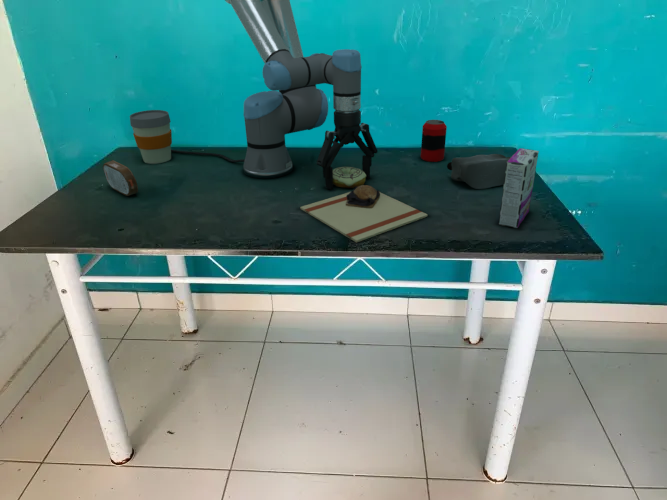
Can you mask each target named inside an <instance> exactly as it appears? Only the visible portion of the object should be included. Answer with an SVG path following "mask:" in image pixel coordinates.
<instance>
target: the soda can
mask: <svg viewBox="0 0 667 500" xmlns="http://www.w3.org/2000/svg"><path fill="white" fill-rule="evenodd" d="M447 128H448V127H447V125H446V123H445V121H444V120H441V119H428V120H426V121H425V123H423V125H422V131H421V145H420V146H421V147H420V158H421V160H423V161H425V162H429V163H436V162H437V163H438V162H441V161H444V159H445V153H446V142H447V141H446V139H447Z"/></svg>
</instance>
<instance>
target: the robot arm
mask: <svg viewBox="0 0 667 500" xmlns="http://www.w3.org/2000/svg"><path fill="white" fill-rule="evenodd" d="M224 2H225V3H226V4H228V5H230V6H231V7H232V8H233V9H232V10H233V11H234V12H235V14H236V16H237V18H238V20H239V21H240V23H241V25H242V27H243V28H244V30H245V32H246V34H247V35H248V37H249V39H250V40H251V42H252V44H253V46H254V47H255V49H256V51H257V54H259V56H260V58H261V60H262V61H263V63H264V64H263V66H262V78H263V81H264V85H265V86H266V87H267V89H269V90H268V91H264V90H263V91H261V92H256V93H252V94H251V95H249V96H247V97H246V98H245V99H244V101H243V119H244V126H245V137H246V147H247V148H246V152H245V158H244V159H243V158H242V159H241V158H240V159H233V158H232V159H231V158H229V157H227V156H226V155H224V154H220V153H214V152H200V151H186V150H177V149H171V153H176V154H184V155H185V154H186V155H195V156H196V155H198V156H212V157H213V156H214V157H219V158H222V159H224V160H225V161H227V162H230V163H243V166H242V167H243V173H244V174H245V175H246V176H248V177H251V178H253V179H266V180H267V179H276V178H280V177H284V176H287V175H289V174H290V173H291V172H293V170H294V169H293V161H292V159H291V158H292V157H291V156H290V154H289V151H288V149H287V146H286V135H288V134H294V133H298V132H304V131H311V130H313V129H316V128H320V127H322V126H323V125H324V124H325V122H326V120H327V117H328V114H329V101H328V97H327V94H326V92H325V91H324V90H323V89H320V88H317V85H322V84H327V85H330V86H332V92H333V93H332V97H333V98H332V99H333V101H332V102H333V103H332V104H333V105H332V106H333V107H332V108H333V110H334V111H333V124H334V130H331V131H330V130H325V132H324V140H323V143H322V146H321V148H320V151H319V154H318V157H317V160H316V163H315V164H316V165H317V166H318V167H320V168H322V177H323V178H324V181H325V186H324V187H325V188H326V189H328V190H331V191H332V190H334V184H333V170H334V167H332V164H333V163H334V161H335V159H336V157H337V155H338V154H339V152H340V151H341V149H342V148H343V147H344V146H347V145H349V144H356V146H357V147H358V148H359V149H360V151H361V152H362V153H363V154H364V155H362V156H361V157H362V159H361V161H362V164H361V170H362V171H363V172H364V173H365V174H366V178H365V179H367V180H369V179H371V167H372V161H373V160H372V158H374V157H375V154H377V153H378V148H377V146H376V144H375V140H374V139H373V136H372V133H371V132H370V125H369V124H368V123H365V122H362V111H361V110H360V109H362V61H361V60H362V58H361V52H360V51H359V50H357V49H347V48H346V49H336V50H334V51H333V52H332V55H331V54H328V53H324V52H321V53H318V52H315V53H312V54H310V55H309V56H304V52H303V49H302V45H301V40H300V36H299V32H298V28H297V25H296V24H297V23H296V21H295V20H296V19H295V17H294V12H293V8H292V3H291V1H290V0H224ZM324 92H325V93H324ZM360 133H361V135H362V137H363V139H362V137H361V136H360Z"/></svg>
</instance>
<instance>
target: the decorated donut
mask: <svg viewBox="0 0 667 500" xmlns="http://www.w3.org/2000/svg"><path fill="white" fill-rule="evenodd" d="M366 179H367V178H366V174H365V173H364V172H363V171H362V168H357V167H354V166H338V167H336V168H333V186H336V187H338V188H349V189H350V188H351V189H354V188H355V187H359V186H361V185H365V182H366Z"/></svg>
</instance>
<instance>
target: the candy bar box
mask: <svg viewBox="0 0 667 500" xmlns="http://www.w3.org/2000/svg"><path fill="white" fill-rule="evenodd" d="M539 152H540V150H536V149H535V150H534V149H528V148H518V149H517V150H516V152H515V153H514V154H512V156H510V159H509V160H508V161H507V164H506V172H505V179H504V185H503V188H502V196H501V203H500V211H499V219H498V225H500V226H503V227H508V228H513V229H518V228H519V227H520V225H522V222H523V221H524V220H525V218H526V216H527V215H528V214H529V212H530V207H531V202H532V195H533V189H534V183H535V178H536V177H535V176H536V171H537V163H538V159H539Z"/></svg>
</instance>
